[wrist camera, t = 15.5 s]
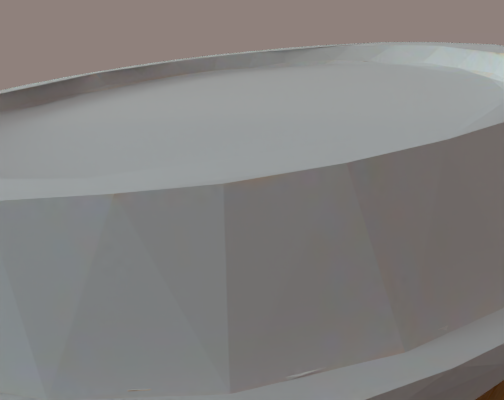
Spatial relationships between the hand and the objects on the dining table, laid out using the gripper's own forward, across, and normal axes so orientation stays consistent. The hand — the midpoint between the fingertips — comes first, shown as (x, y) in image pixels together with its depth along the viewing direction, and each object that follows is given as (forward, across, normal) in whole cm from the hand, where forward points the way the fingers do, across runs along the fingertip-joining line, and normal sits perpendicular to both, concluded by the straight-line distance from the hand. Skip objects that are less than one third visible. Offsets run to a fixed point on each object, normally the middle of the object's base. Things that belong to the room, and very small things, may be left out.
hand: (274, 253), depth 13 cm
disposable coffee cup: (-5, 0, -7) cm, 8 cm away
